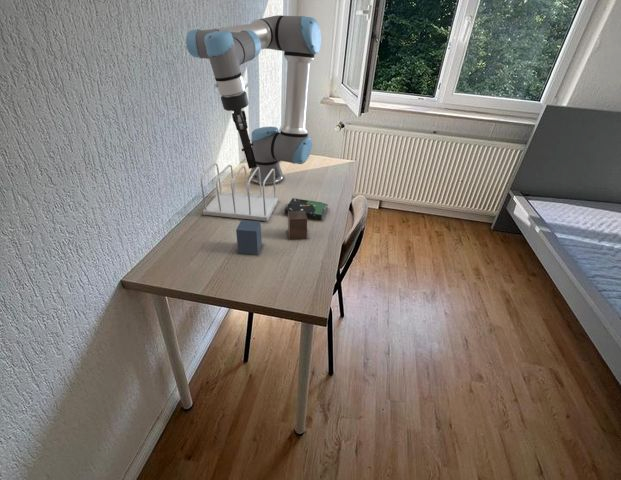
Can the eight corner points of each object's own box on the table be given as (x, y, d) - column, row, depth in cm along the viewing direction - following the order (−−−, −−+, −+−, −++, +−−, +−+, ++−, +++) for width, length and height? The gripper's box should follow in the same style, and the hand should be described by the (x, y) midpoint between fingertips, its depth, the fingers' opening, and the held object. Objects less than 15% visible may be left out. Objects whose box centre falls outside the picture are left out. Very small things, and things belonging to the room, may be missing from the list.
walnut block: (288, 231, 124) (288, 211, 120) (304, 230, 125) (305, 210, 121) (289, 239, 120) (289, 219, 115) (306, 238, 121) (307, 218, 116)
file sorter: (278, 201, 143) (277, 165, 135) (267, 222, 129) (266, 183, 120) (219, 195, 146) (215, 159, 137) (203, 215, 132) (197, 177, 123)
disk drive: (284, 215, 134) (322, 221, 131) (284, 209, 132) (322, 214, 129) (292, 203, 142) (327, 208, 139) (292, 197, 141) (327, 202, 138)
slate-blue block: (243, 243, 117) (241, 220, 112) (261, 244, 117) (260, 221, 112) (238, 253, 112) (236, 229, 107) (257, 255, 112) (256, 231, 107)
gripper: (219, 90, 105) (240, 161, 120) (220, 102, 95) (242, 178, 110) (244, 85, 106) (261, 156, 120) (247, 96, 96) (266, 173, 110)
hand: (252, 166), depth 115 cm, fingers closed
